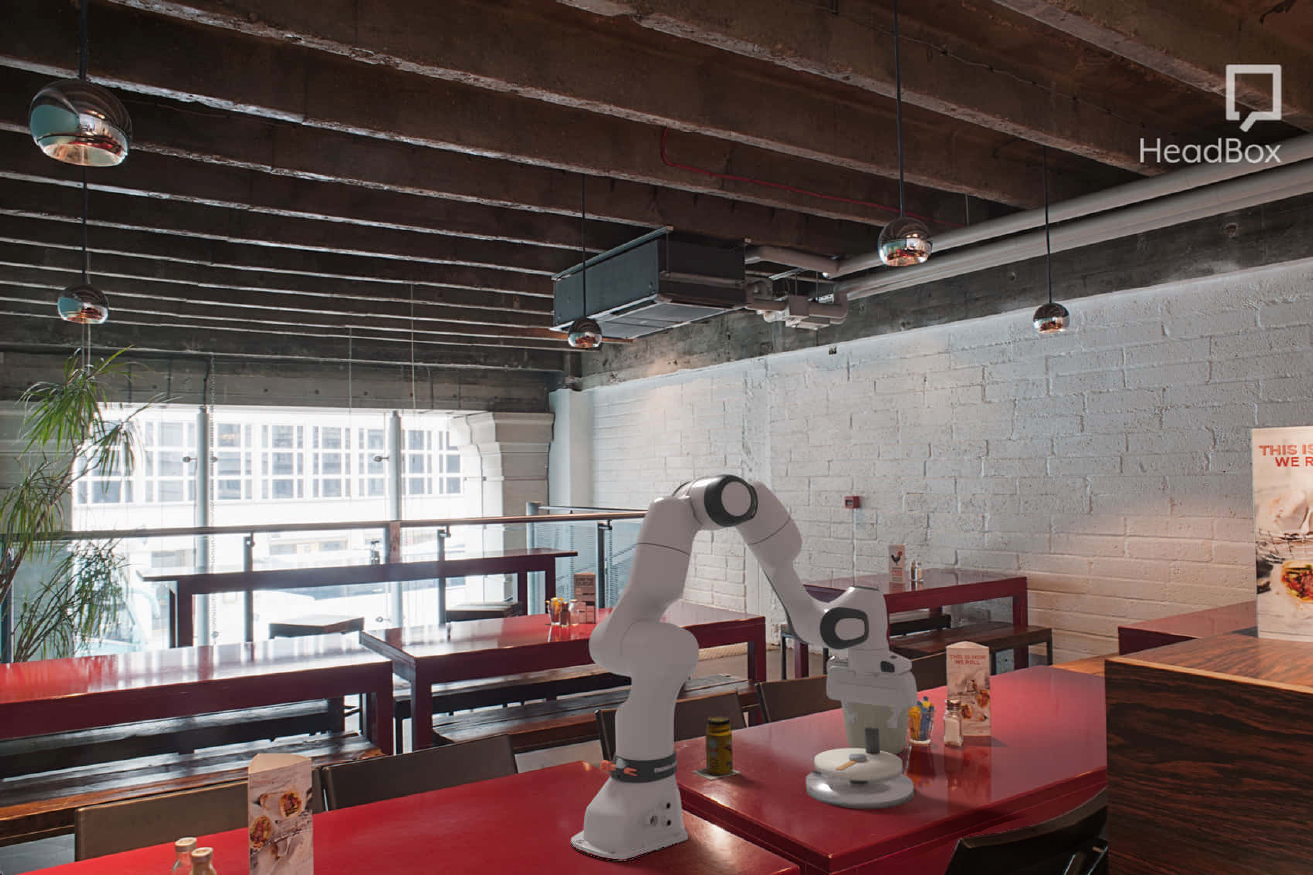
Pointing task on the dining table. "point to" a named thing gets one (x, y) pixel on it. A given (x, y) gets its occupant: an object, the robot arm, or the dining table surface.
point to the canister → (876, 717)
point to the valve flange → (860, 791)
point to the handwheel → (860, 761)
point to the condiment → (718, 749)
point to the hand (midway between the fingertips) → (872, 724)
